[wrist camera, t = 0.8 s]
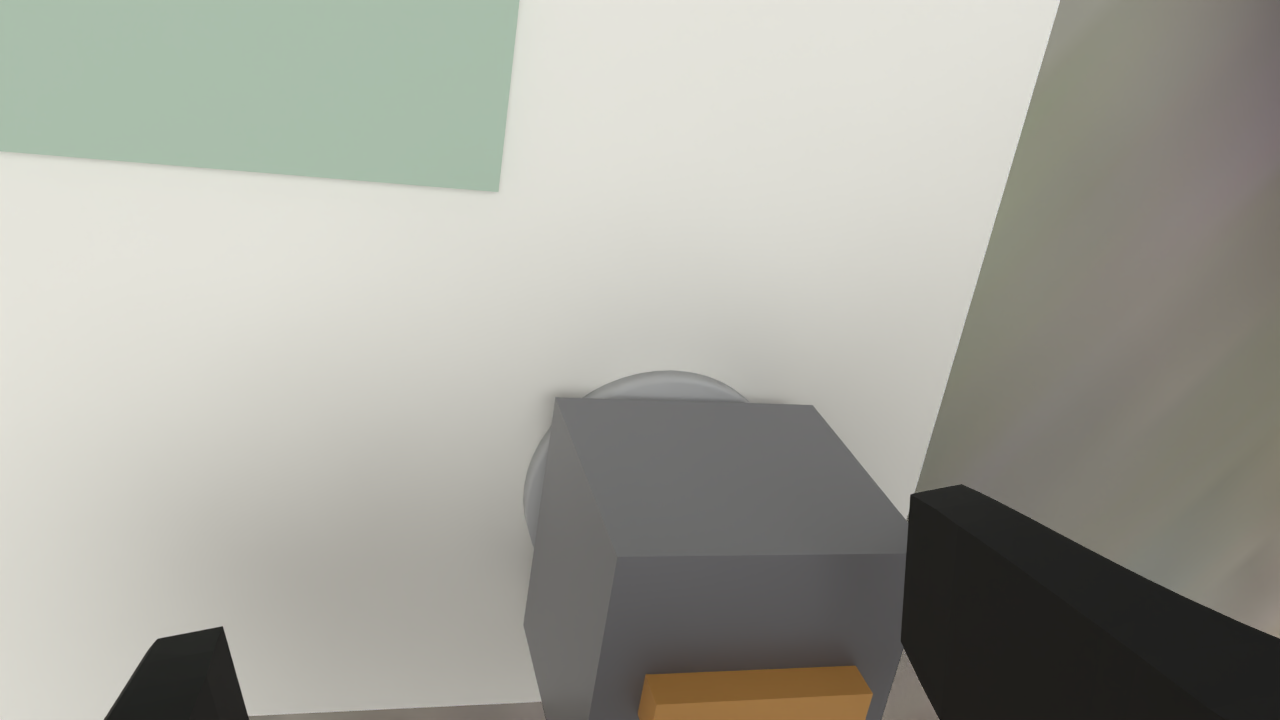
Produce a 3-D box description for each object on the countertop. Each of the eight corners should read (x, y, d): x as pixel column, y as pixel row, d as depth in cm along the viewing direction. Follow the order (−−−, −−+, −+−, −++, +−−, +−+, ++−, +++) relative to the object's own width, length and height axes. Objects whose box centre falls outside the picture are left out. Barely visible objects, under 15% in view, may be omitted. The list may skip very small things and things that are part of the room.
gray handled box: (812, 405, 20) (953, 578, 15) (760, 618, 22) (872, 828, 17) (555, 397, 18) (627, 585, 14) (523, 624, 20) (578, 853, 16)
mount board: (1113, -378, 18) (1442, -456, 13) (830, 641, 26) (958, 854, 21) (-341, -770, 12) (-827, -1191, 7) (-128, 676, 20) (-286, 977, 15)
